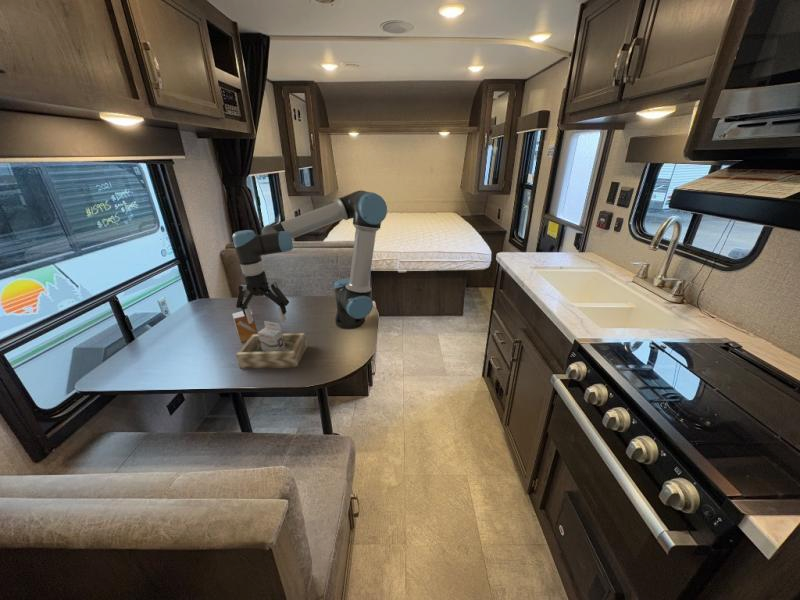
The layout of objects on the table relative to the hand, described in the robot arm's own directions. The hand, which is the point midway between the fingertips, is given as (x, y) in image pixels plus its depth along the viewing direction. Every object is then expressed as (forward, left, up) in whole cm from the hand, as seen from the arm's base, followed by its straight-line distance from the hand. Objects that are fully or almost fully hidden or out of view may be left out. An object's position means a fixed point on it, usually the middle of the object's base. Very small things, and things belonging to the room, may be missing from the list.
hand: (267, 321), depth 124 cm
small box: (+19, -16, -18) cm, 31 cm away
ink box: (0, 0, -16) cm, 16 cm away
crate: (0, 0, -17) cm, 17 cm away
